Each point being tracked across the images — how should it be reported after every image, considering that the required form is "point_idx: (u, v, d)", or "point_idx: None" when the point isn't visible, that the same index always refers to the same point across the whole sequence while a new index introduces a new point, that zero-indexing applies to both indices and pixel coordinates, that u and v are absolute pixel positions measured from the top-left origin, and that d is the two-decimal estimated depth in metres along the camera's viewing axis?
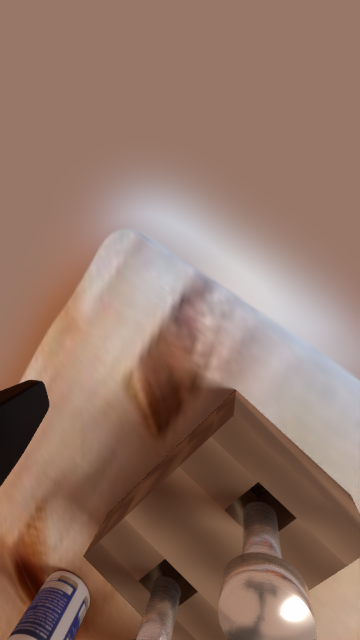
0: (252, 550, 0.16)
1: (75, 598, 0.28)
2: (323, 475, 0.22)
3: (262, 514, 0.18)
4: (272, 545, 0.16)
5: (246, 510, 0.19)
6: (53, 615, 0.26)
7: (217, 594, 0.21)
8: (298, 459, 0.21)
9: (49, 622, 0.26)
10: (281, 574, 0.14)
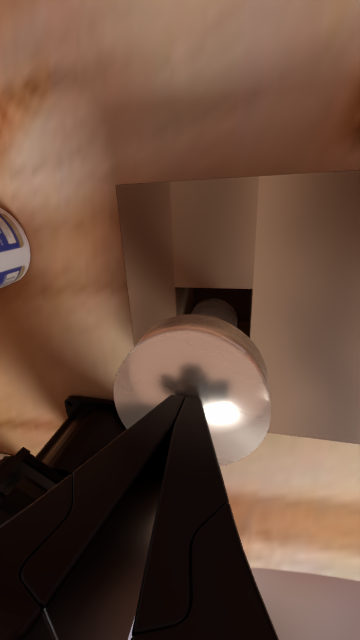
0: None
1: (14, 254, 0.18)
2: None
3: None
4: None
5: None
6: None
7: (269, 378, 0.14)
8: None
9: None
10: None
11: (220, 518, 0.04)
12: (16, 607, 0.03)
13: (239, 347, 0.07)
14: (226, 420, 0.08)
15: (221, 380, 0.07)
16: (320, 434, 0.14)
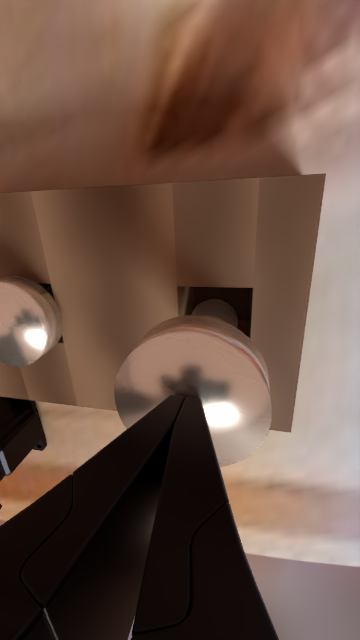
0: None
1: None
2: None
3: (232, 317, 0.12)
4: None
5: (211, 302, 0.13)
6: None
7: (83, 360, 0.16)
8: None
9: None
10: (265, 375, 0.08)
11: (220, 518, 0.04)
12: (16, 607, 0.03)
13: (23, 290, 0.13)
14: (23, 333, 0.14)
15: (14, 308, 0.13)
16: None
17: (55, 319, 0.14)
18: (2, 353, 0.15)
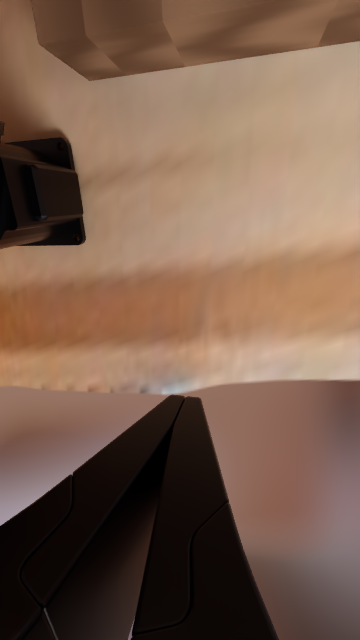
0: None
1: None
2: None
3: None
4: None
5: None
6: None
7: None
8: None
9: None
10: None
11: (220, 518, 0.04)
12: (16, 607, 0.03)
13: None
14: None
15: None
16: None
17: None
18: None
